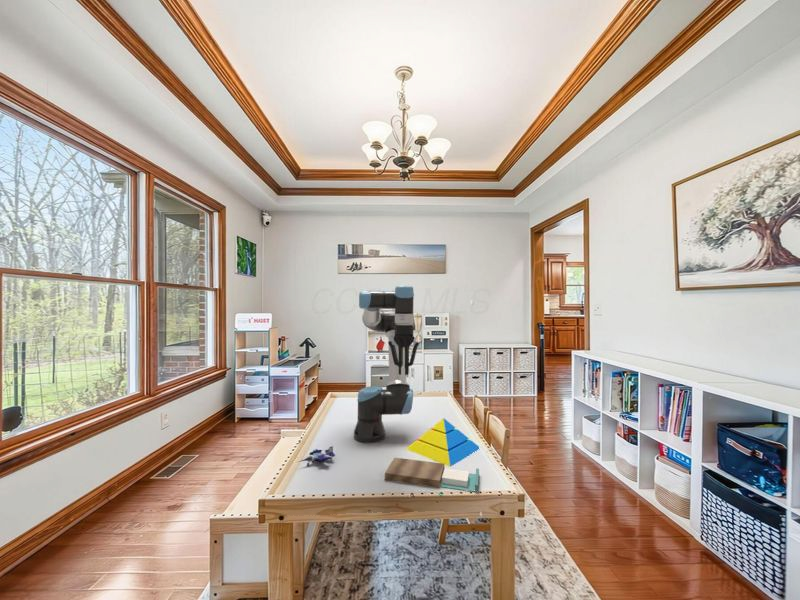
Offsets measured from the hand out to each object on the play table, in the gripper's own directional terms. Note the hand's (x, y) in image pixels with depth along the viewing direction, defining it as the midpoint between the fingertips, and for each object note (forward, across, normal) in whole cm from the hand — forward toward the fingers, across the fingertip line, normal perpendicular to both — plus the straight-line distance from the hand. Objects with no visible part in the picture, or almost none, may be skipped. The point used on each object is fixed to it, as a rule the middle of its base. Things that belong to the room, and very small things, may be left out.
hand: (403, 382), depth 139 cm
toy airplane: (+33, -33, -9) cm, 47 cm away
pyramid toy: (+33, +14, +18) cm, 40 cm away
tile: (+32, +22, -9) cm, 40 cm away
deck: (+32, +7, -8) cm, 34 cm away
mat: (+32, +23, -8) cm, 41 cm away
